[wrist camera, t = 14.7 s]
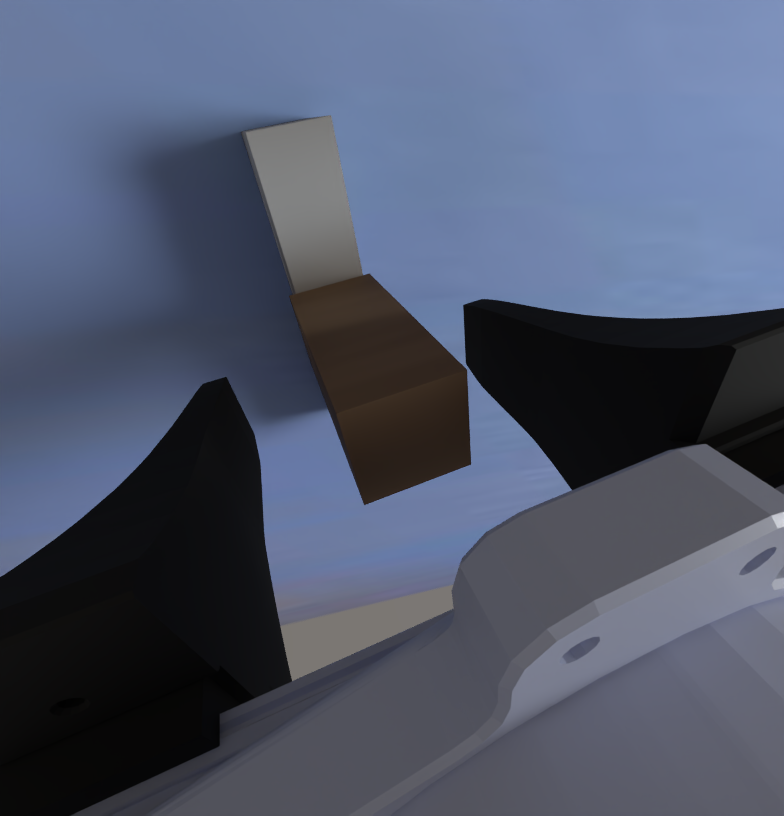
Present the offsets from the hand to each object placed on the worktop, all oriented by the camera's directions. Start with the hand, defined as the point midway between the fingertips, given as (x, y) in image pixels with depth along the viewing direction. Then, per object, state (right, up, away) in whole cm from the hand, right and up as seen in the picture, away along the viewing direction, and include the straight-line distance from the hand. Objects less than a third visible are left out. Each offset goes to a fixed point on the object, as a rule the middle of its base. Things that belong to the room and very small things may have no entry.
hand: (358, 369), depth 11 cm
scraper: (-2, +3, +3) cm, 5 cm away
